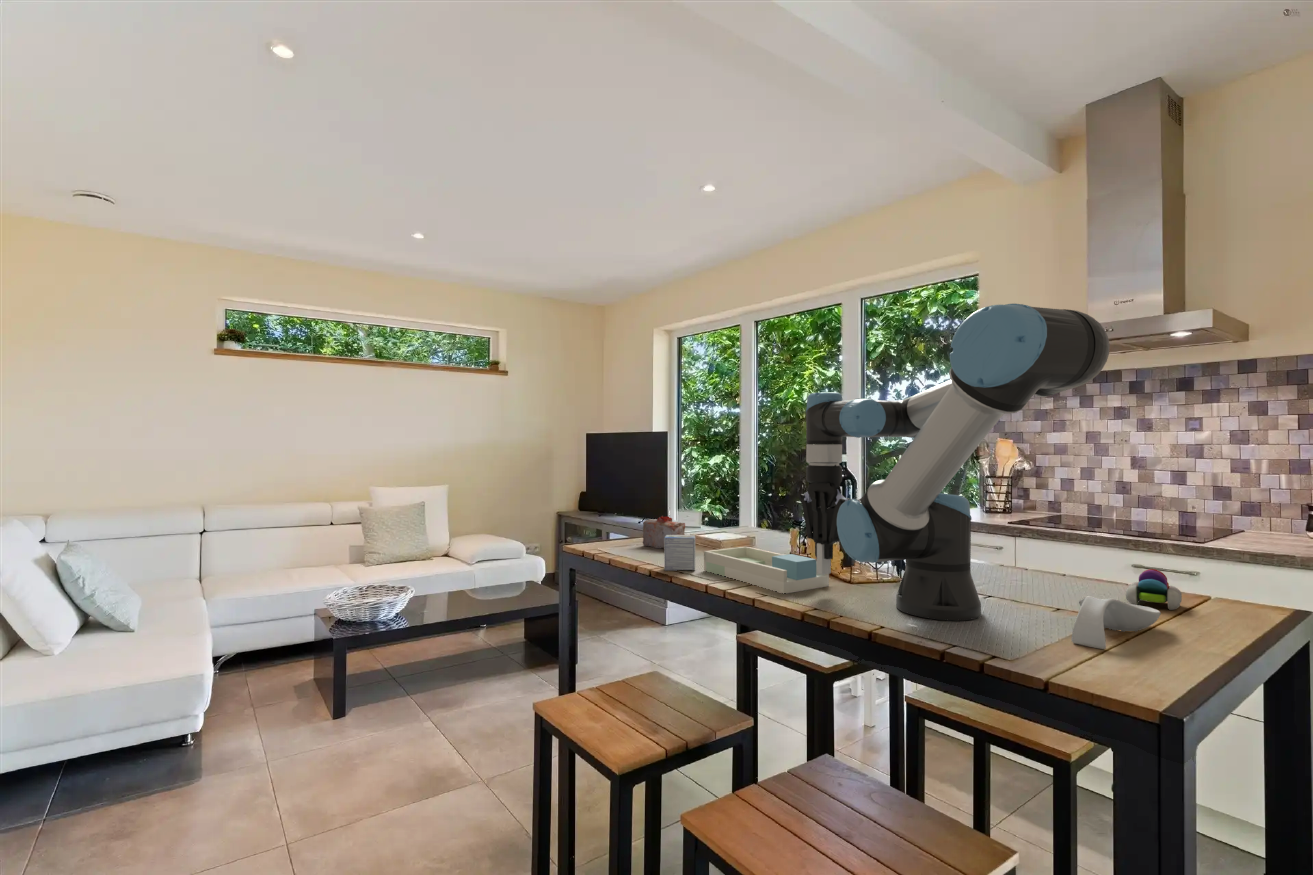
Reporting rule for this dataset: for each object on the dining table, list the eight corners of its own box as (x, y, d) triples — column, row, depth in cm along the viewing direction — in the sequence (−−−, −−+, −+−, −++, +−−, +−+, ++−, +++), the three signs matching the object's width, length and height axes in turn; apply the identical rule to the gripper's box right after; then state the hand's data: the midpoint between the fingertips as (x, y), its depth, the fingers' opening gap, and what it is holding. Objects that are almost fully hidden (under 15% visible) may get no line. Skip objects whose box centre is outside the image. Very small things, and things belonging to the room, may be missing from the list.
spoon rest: (1089, 614, 121) (1089, 577, 121) (1167, 628, 112) (1166, 587, 112) (1048, 640, 105) (1048, 597, 105) (1135, 658, 96) (1134, 611, 96)
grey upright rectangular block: (695, 568, 165) (695, 534, 165) (694, 571, 160) (694, 537, 161) (665, 567, 166) (665, 534, 166) (664, 570, 161) (664, 537, 161)
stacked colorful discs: (1182, 604, 128) (1182, 568, 128) (1179, 614, 121) (1178, 576, 121) (1130, 597, 133) (1130, 563, 134) (1124, 606, 126) (1124, 570, 126)
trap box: (828, 586, 144) (828, 564, 144) (783, 594, 136) (783, 570, 136) (746, 565, 168) (746, 546, 168) (704, 570, 161) (703, 551, 161)
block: (816, 577, 142) (816, 559, 142) (797, 580, 139) (796, 562, 139) (791, 570, 149) (791, 554, 149) (772, 573, 145) (772, 556, 145)
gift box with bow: (689, 548, 197) (689, 516, 197) (674, 551, 190) (674, 518, 190) (654, 543, 205) (654, 513, 205) (639, 546, 199) (639, 515, 199)
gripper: (860, 465, 132) (859, 577, 132) (814, 462, 143) (813, 566, 144) (835, 465, 128) (834, 581, 129) (790, 463, 140) (789, 569, 140)
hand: (823, 573), depth 136 cm, fingers closed
